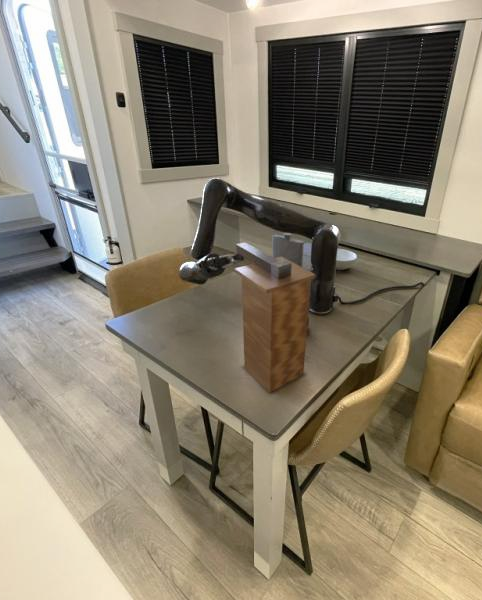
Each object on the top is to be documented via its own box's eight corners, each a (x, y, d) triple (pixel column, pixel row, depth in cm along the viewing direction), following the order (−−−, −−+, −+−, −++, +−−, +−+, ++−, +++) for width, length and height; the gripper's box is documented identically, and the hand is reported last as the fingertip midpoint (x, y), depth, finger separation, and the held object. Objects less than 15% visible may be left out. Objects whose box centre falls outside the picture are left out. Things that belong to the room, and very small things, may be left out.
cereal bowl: (356, 275, 161) (359, 261, 158) (323, 272, 161) (324, 259, 158) (352, 261, 176) (354, 249, 173) (321, 259, 176) (323, 247, 172)
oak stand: (278, 348, 107) (281, 256, 91) (307, 372, 98) (315, 274, 82) (238, 367, 98) (233, 268, 82) (265, 395, 89) (266, 290, 73)
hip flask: (302, 276, 156) (305, 235, 146) (298, 279, 152) (301, 238, 143) (274, 268, 162) (275, 228, 152) (269, 271, 159) (270, 230, 149)
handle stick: (247, 250, 94) (246, 239, 92) (291, 275, 81) (291, 263, 79) (234, 252, 91) (234, 241, 90) (278, 279, 78) (278, 266, 77)
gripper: (186, 260, 107) (203, 250, 94) (225, 251, 115) (246, 241, 102) (193, 282, 108) (211, 275, 95) (231, 272, 116) (253, 264, 103)
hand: (229, 257), depth 99 cm, fingers open, 8 cm apart
